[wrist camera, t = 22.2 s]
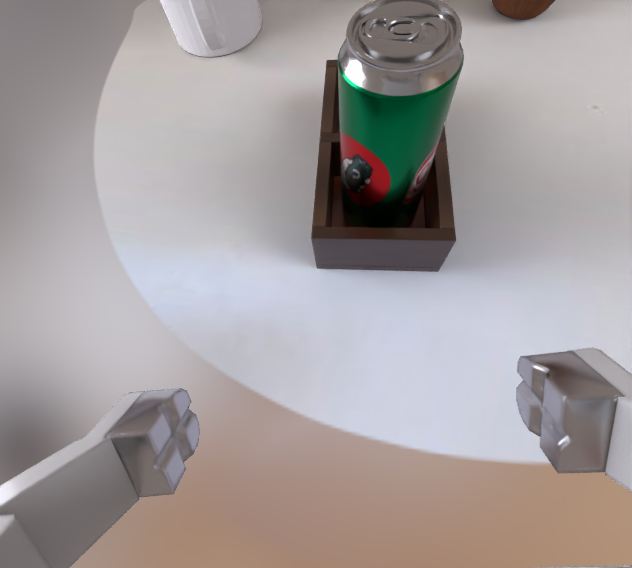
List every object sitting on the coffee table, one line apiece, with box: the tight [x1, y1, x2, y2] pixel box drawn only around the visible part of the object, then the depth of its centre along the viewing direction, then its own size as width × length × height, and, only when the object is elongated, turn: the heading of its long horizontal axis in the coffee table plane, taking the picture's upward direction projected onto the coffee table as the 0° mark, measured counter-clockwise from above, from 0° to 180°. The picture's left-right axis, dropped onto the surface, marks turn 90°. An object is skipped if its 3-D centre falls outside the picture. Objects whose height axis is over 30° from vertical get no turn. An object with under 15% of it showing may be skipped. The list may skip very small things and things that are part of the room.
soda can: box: [338, 0, 464, 228], centre depth 19 cm, size 5×5×12 cm
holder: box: [311, 60, 456, 271], centre depth 24 cm, size 15×8×4 cm, turn 176°
